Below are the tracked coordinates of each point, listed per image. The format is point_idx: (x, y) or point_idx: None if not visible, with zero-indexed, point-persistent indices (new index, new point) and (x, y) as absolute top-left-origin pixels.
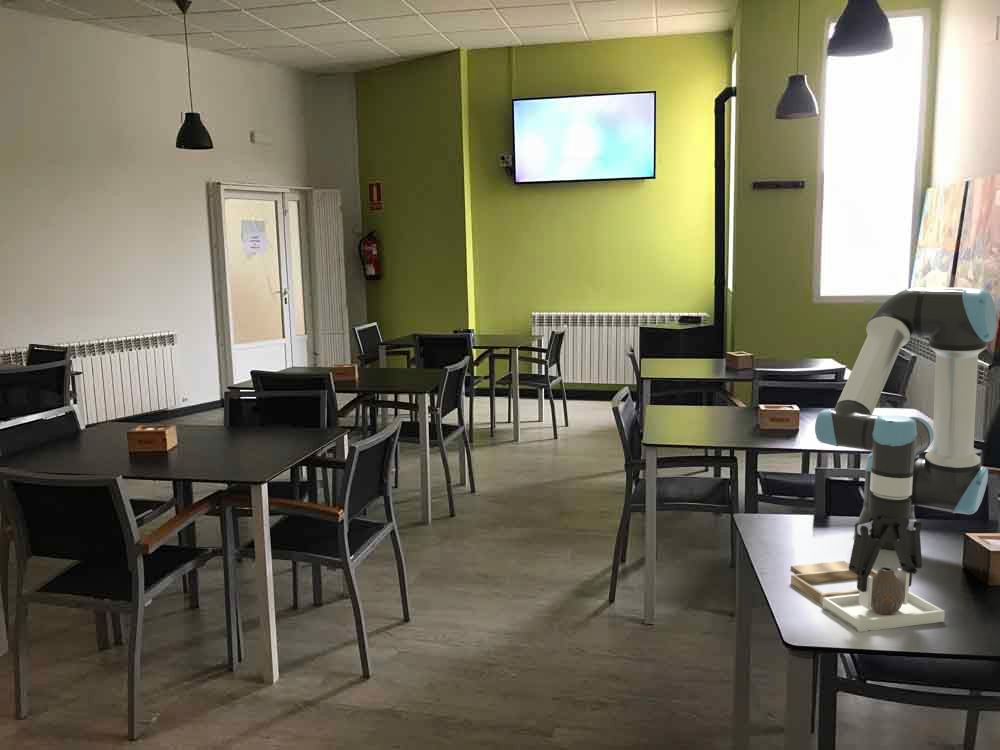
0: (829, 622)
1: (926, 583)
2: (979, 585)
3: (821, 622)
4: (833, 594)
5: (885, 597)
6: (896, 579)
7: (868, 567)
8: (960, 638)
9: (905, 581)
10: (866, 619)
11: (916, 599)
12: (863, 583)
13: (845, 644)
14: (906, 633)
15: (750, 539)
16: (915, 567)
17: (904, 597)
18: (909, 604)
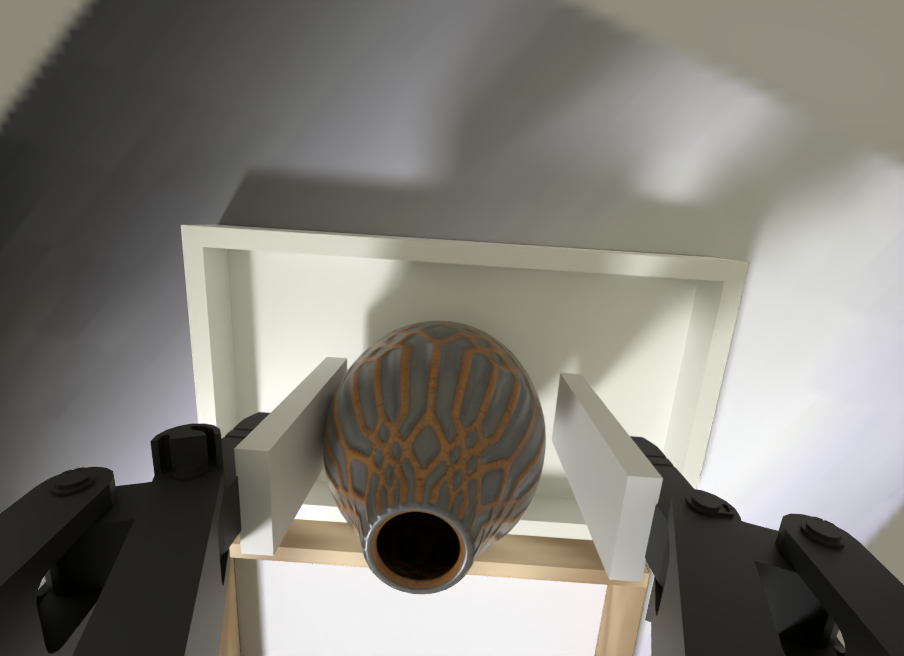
0: (752, 384)
1: None
2: None
3: (787, 395)
4: (586, 567)
5: (509, 358)
6: (386, 431)
7: (733, 559)
8: (270, 30)
9: (296, 422)
10: (693, 268)
11: (221, 408)
12: (666, 470)
13: (888, 162)
14: (497, 171)
15: None
16: (124, 492)
17: (335, 374)
18: (265, 408)
